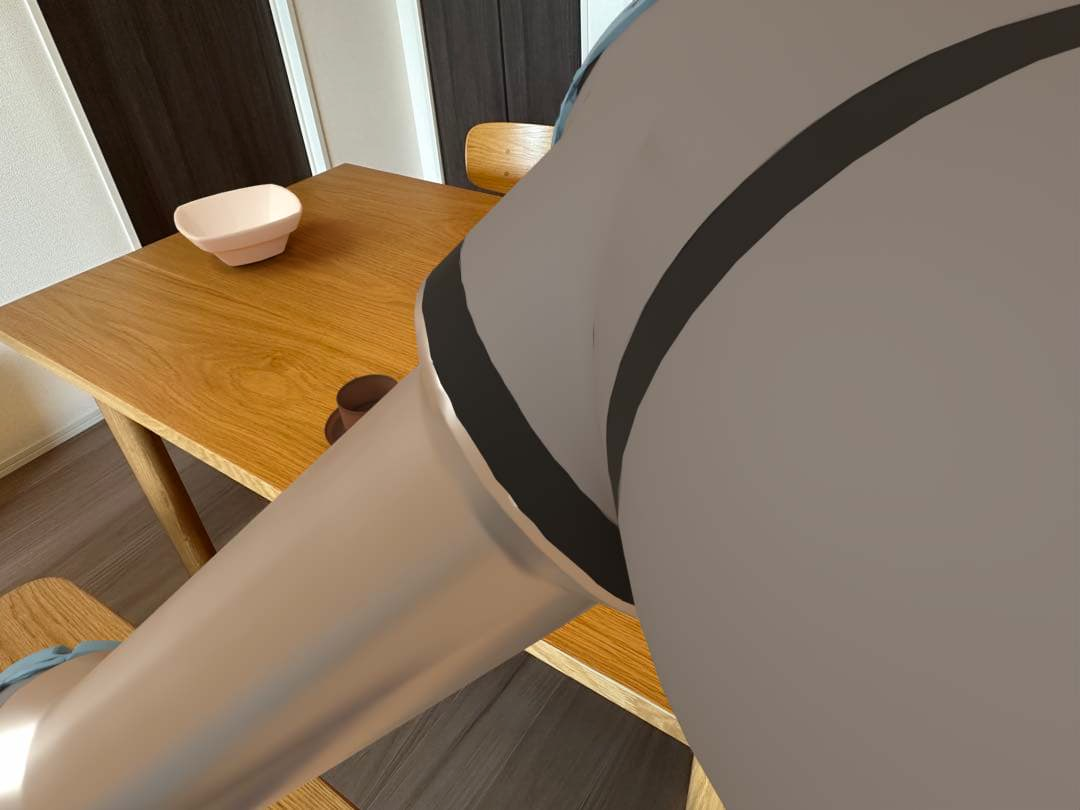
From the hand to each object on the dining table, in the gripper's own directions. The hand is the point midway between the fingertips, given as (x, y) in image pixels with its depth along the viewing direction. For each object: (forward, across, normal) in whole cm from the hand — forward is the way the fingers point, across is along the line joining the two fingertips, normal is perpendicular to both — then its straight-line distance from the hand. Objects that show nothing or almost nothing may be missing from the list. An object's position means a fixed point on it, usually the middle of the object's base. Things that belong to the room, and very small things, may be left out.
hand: (707, 527), depth 55 cm
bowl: (+102, +16, -12) cm, 104 cm away
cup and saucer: (+43, -2, -12) cm, 44 cm away
